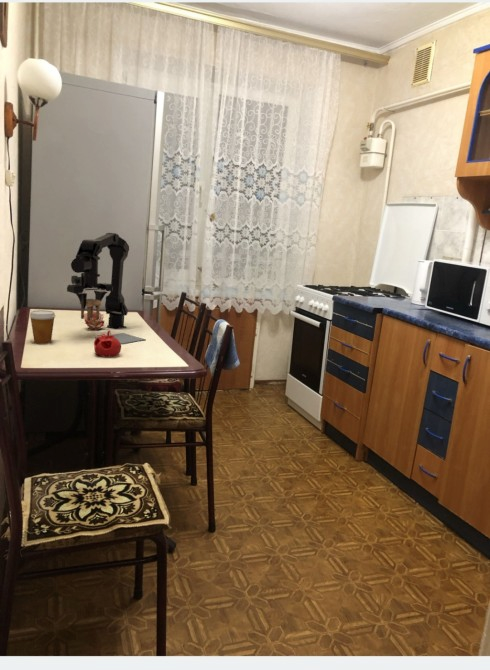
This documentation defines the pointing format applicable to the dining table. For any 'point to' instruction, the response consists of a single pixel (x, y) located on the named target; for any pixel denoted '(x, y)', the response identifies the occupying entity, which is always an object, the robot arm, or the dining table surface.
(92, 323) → the flower
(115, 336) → the mat
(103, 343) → the pomegranate
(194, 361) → the dining table surface
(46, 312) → the disposable coffee cup
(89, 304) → the stool
